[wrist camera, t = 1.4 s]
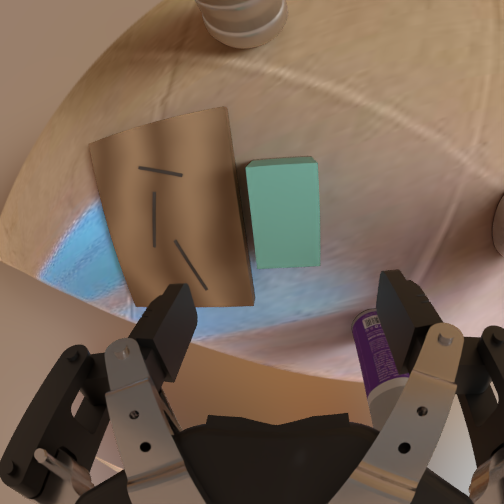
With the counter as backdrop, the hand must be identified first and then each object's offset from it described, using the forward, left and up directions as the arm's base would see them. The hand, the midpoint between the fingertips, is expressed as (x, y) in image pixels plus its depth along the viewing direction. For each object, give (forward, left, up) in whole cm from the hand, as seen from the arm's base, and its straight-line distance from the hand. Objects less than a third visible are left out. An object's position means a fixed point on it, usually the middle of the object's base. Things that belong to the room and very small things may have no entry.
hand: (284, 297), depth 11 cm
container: (-9, +15, -15) cm, 23 cm away
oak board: (+11, +1, -15) cm, 18 cm away
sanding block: (0, 0, -15) cm, 15 cm away
